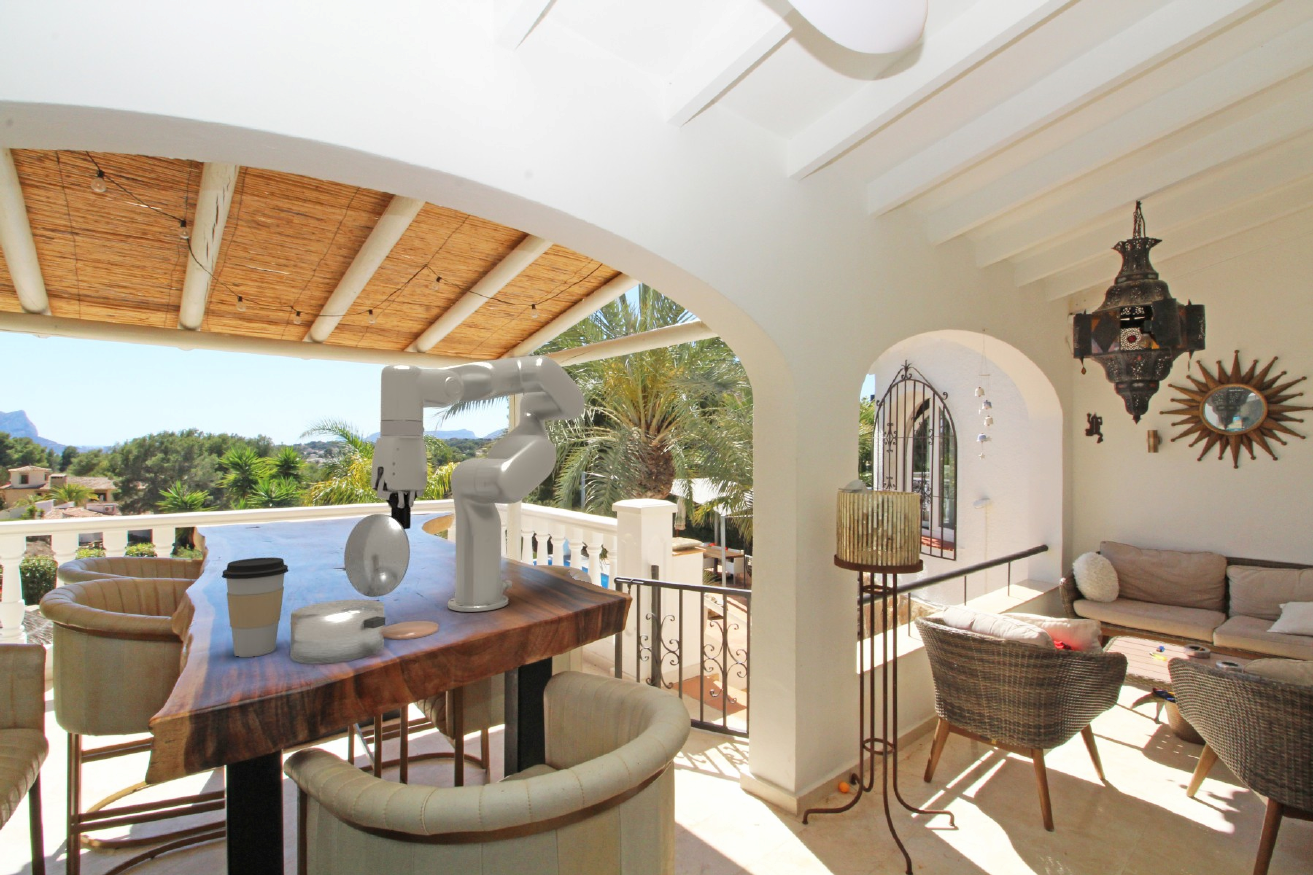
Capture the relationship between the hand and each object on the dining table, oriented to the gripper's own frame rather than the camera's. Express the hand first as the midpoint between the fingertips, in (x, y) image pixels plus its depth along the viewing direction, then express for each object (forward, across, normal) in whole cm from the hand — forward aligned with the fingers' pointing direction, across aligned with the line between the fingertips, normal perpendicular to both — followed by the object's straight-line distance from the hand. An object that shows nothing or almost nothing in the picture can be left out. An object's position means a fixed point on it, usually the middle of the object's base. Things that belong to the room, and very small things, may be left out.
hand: (400, 528), depth 120 cm
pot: (+19, +14, 0) cm, 23 cm away
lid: (+4, +6, 0) cm, 7 cm away
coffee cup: (+19, +20, -12) cm, 30 cm away
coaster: (+19, 0, +3) cm, 19 cm away
